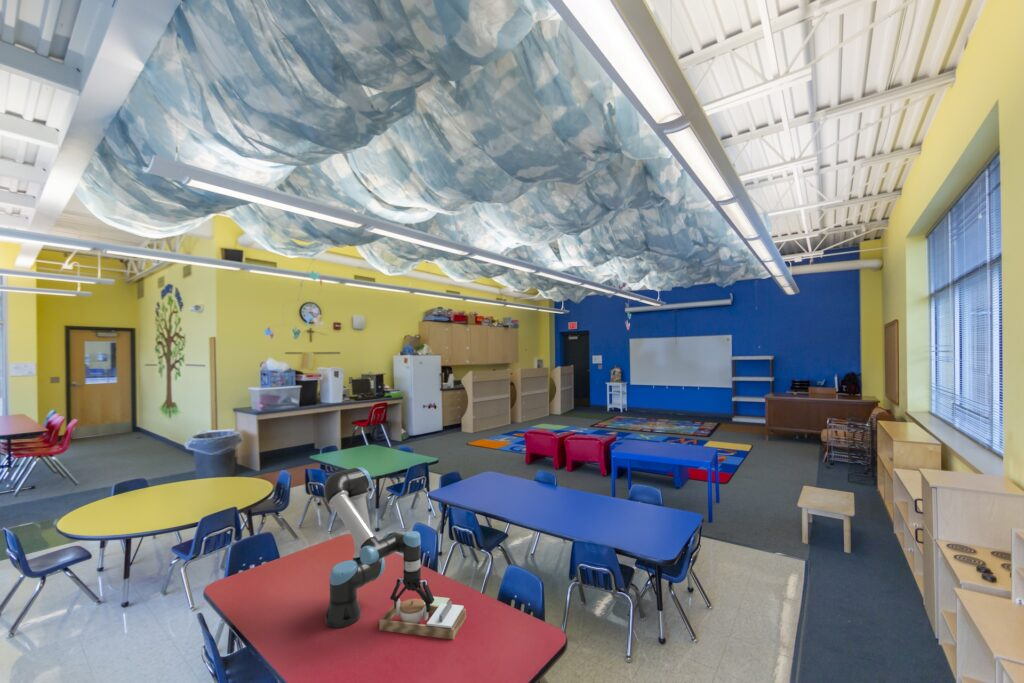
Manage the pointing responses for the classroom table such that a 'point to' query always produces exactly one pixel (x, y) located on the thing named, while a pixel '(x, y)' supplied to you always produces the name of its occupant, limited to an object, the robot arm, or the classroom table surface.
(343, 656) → the classroom table surface
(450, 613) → the lid
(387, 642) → the classroom table surface
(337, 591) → the robot arm
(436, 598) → the mat
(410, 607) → the lidded jar
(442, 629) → the wooden rectangular frame
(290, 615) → the classroom table surface
